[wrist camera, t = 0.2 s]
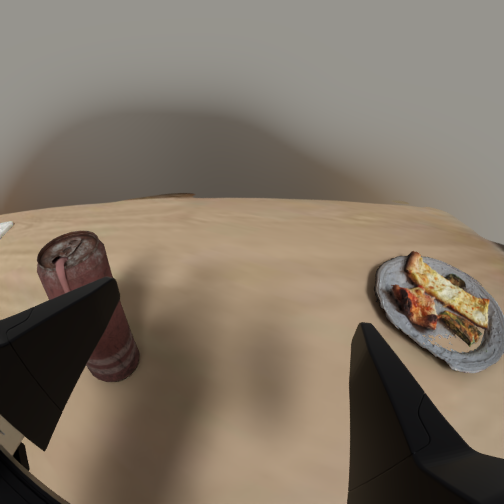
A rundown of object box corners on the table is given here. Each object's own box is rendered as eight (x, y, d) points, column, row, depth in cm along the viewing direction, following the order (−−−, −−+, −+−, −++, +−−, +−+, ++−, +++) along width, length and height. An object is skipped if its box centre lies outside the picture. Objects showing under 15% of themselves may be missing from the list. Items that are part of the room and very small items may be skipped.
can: (95, 393, 21) (28, 281, 13) (85, 348, 25) (37, 239, 17) (148, 376, 23) (106, 257, 16) (132, 333, 28) (99, 221, 20)
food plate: (341, 300, 34) (348, 279, 33) (407, 250, 47) (413, 235, 45) (481, 407, 18) (499, 391, 16) (504, 316, 31) (514, 301, 29)
